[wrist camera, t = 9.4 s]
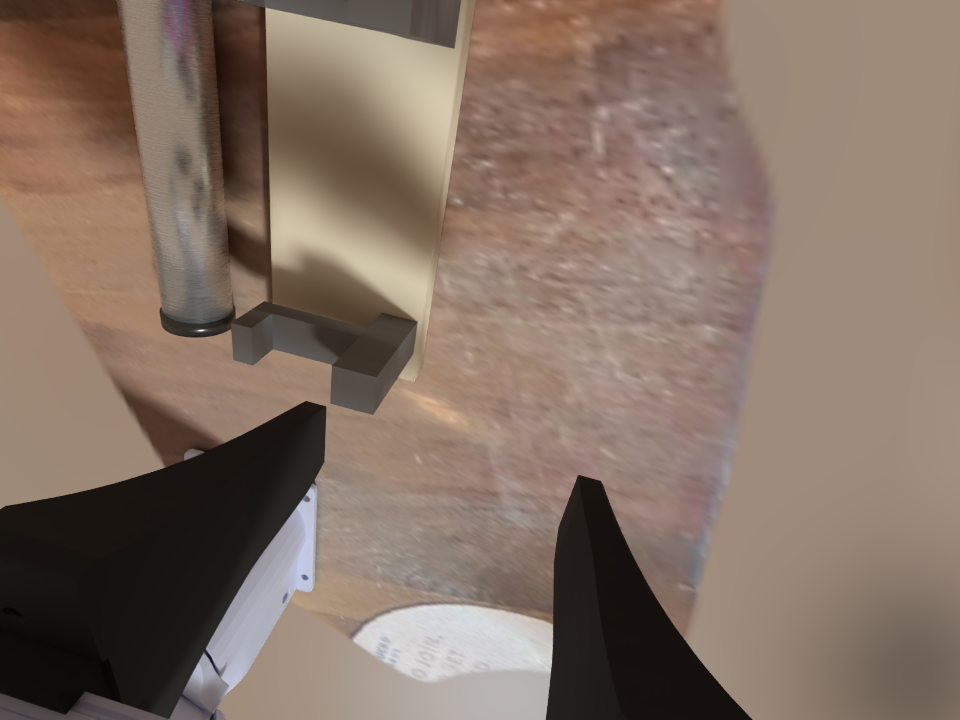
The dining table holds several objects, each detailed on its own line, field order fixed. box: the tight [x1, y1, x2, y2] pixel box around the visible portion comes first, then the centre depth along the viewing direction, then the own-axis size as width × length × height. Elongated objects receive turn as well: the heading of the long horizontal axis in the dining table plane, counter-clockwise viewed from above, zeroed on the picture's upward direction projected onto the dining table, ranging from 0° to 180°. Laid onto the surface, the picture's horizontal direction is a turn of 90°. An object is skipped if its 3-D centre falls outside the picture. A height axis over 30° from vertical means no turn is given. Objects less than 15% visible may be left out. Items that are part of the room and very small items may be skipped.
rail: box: [117, 0, 236, 337], centre depth 19 cm, size 15×3×3 cm, turn 170°
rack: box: [231, 0, 476, 415], centre depth 18 cm, size 16×7×6 cm, turn 170°
